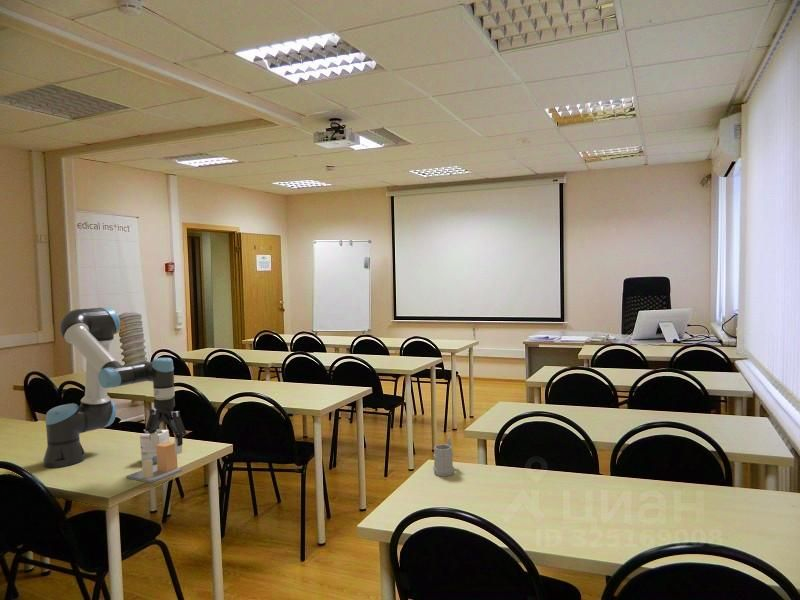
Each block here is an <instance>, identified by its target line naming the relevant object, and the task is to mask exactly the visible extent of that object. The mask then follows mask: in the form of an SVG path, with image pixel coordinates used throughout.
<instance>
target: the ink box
mask: <svg viewBox="0 0 800 600" xmlns="http://www.w3.org/2000/svg"><path fill="white" fill-rule="evenodd" d="M143 432H144V433H142V434H140V435H139V441H140V443H139V444H140V445H139V446H140V455H141V457H140V458H141V463H142V462H143V461H146V460H153V464H154V463H156V464H157V452H156V449H155V450H151V441H150V433H149V432H148V431H145V429H143ZM156 432H157V438H158V444H161V443H164V442H170V435H169V434H170V433H169V432H170V430H169V429H160V428H157V431H156Z"/></svg>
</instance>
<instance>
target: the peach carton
mask: <svg viewBox="0 0 800 600" xmlns="http://www.w3.org/2000/svg"><path fill="white" fill-rule="evenodd" d="M156 452H157V463H156V465H157V471H162V472H169V471H171V470H174V469H176V468H178V467H179V466H178V454H177V455H175V442H173V441H169V442H164V443H161V444H158V445H156Z"/></svg>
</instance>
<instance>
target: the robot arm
mask: <svg viewBox="0 0 800 600" xmlns="http://www.w3.org/2000/svg"><path fill="white" fill-rule="evenodd" d="M59 322H60V323H59V327H58V328H59V333H60V335H61V337H62V338H63V340H64V341H65V342H66V343H68V344H70V345H73V346H74V347H75V348H76V350H78V351H79V353H80V354H81V356H83V357H84V358H85V359H86V363H85V364H86V365H85V384H84V385H85V387H84V388H85V389H84V396H83V397H82V398H81V399H80V405H78V404H76V403H67V404H62V405H58V406H55V407H52V408H51V409H49V410H48V411H47V412H46V416H45V427H46V428H45V429H46V430H45V431H46V441H47V442H46V443H47V444H46V446H47V447H46V451H45V454H44V457H43V461H42V464H43V467H45V468H63V467H68V466H73V465H76V464H79V463H81V462H84V461H85V459H86V453H85V450H84V447H83V445H82V444H81V443H82V442H81V441H80V434H82V433H87V432H92V431H95V430H100V429H101V430H102V429H103V428H106V427H109V426H111V425H112V424H113V423H114V421H115V419H116V417H117V408H116V404H115V402H114V401H113V400H111V397H110V396H109V395H108V389H110V388H117V387H122V386H127V385H128V386H129V385H132V384H133V385H134V384H139V383H144V382H152V387H153V398H154V400H153V408H151V409H150V410H149V417H148V420H147V423H146V426H145V429H144V430H145V431H148V432H149V433H150V441H151V450H155V449H156V445H158V438H157V432H156V431H157V429H159V427H160V425H161V423H166V424H167V425H168V426H169V427H170V429H171V431H172V432H173V434H174V435H175V437H174V443H175V455H177V456H178V455H180V454H182V453H183V437H185V436H187V431H186V428H185V426H184V423H183V420H182V417H181V413H180V410H176V411H174V407H175V406H176V400H175V395H176V394H175V375H174V374H175V373H174V371H175V367H174V362H173V361H174V360H173V359H172V357H158V358H154V359H152V361H147V360H144V361H142V360H141V361H137V362H136V363H132V364H125V365H122V364H121V363H120V362H119V361H118V360H117V359H116V358H115V357H114V356H113V355H112V353H110V343H111V342H112V341H113V340H114V335H116V334H117V333H118V332H119V331H120V330H121V320H120V317H119V314H118V313H117V311H116V310H114V309H113V308H110V307H93V308H75V309H72V310H71V311H68V312H67V313H66V314H64V315H63V316H62V318H61V320H60V321H59ZM145 431H144V432H145Z"/></svg>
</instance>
